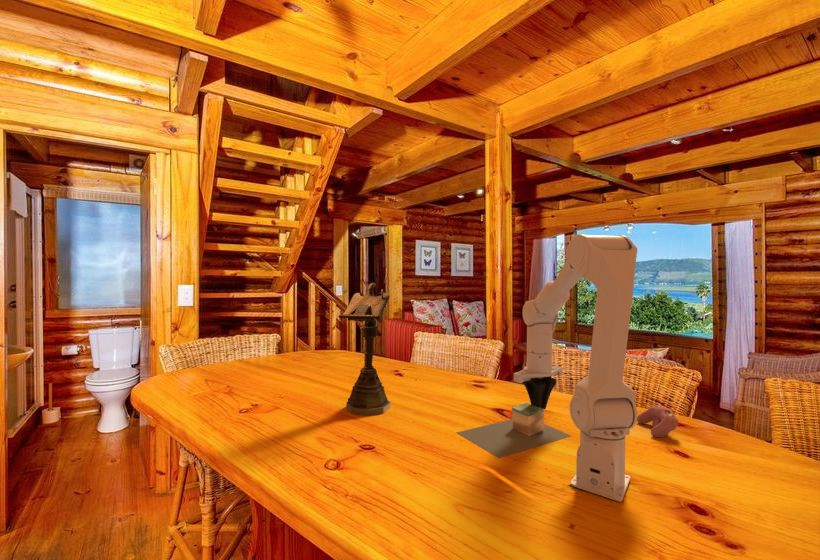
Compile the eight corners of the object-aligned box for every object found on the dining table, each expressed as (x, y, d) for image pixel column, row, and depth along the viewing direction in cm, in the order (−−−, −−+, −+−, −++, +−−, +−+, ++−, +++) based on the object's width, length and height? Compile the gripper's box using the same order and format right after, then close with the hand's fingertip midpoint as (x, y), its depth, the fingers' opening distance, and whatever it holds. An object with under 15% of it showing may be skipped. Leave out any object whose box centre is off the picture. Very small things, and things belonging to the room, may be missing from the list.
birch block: (529, 436, 86) (528, 414, 86) (512, 428, 90) (511, 407, 90) (544, 430, 88) (543, 408, 88) (527, 422, 93) (526, 402, 92)
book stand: (378, 425, 92) (380, 281, 92) (330, 418, 96) (331, 280, 96) (400, 404, 108) (402, 280, 108) (358, 399, 112) (359, 280, 112)
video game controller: (670, 446, 86) (686, 420, 86) (650, 435, 87) (666, 409, 86) (651, 429, 96) (665, 405, 95) (633, 419, 97) (648, 396, 96)
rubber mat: (499, 461, 75) (499, 458, 75) (456, 435, 87) (456, 432, 87) (571, 438, 86) (571, 435, 86) (524, 418, 98) (524, 415, 98)
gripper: (546, 346, 98) (545, 398, 98) (504, 351, 90) (503, 408, 91) (570, 351, 92) (569, 407, 92) (527, 357, 84) (526, 418, 85)
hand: (538, 408), depth 91 cm, fingers closed
